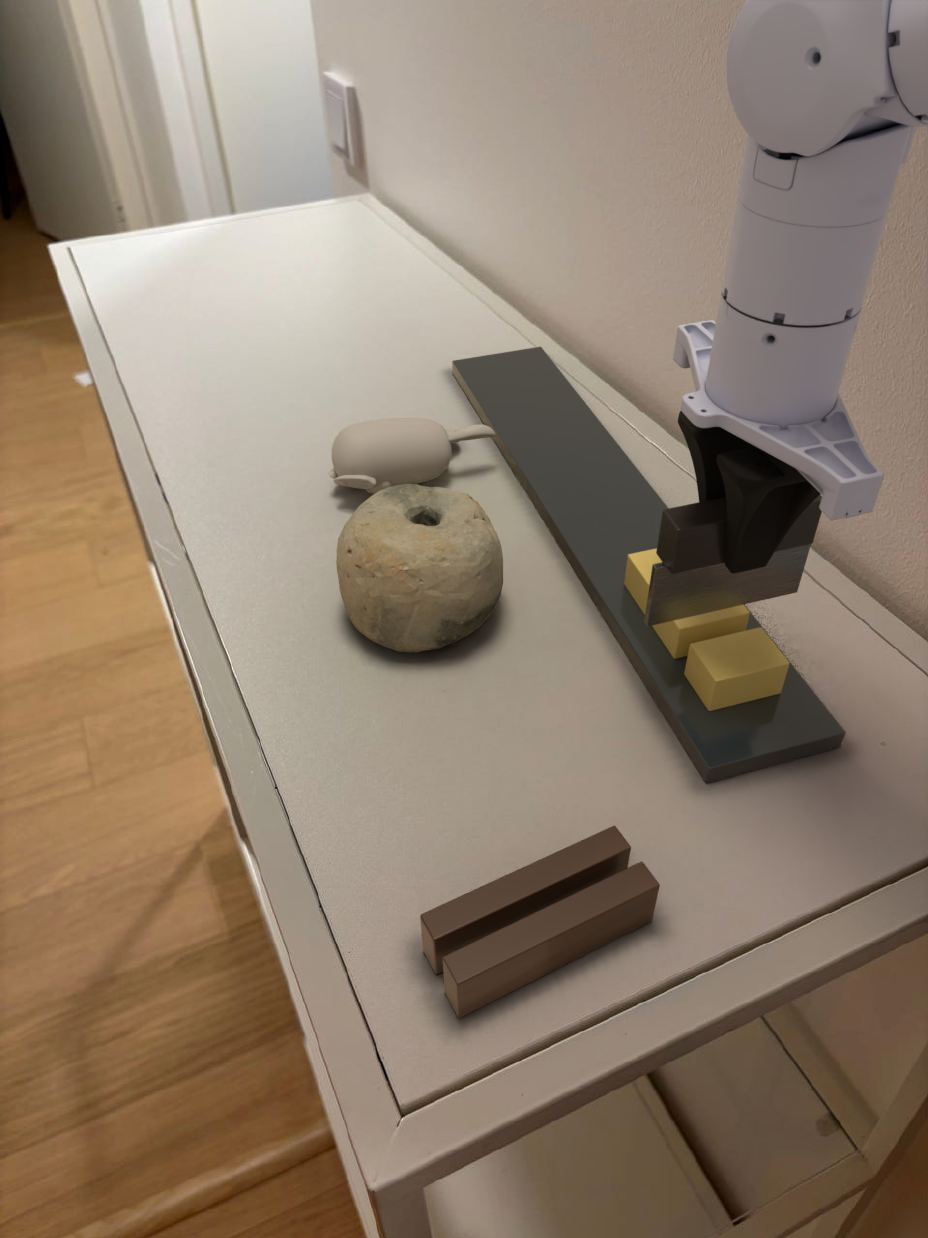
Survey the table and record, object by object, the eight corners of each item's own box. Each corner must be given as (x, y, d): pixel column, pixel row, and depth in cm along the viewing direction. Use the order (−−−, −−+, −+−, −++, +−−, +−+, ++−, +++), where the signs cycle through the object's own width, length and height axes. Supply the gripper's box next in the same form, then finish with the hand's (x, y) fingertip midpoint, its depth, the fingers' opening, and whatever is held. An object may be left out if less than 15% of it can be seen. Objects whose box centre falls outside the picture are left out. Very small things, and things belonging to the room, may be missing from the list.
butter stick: (743, 643, 56) (750, 612, 55) (673, 659, 55) (679, 629, 54) (687, 570, 61) (693, 539, 60) (623, 584, 60) (627, 553, 59)
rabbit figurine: (347, 484, 65) (508, 467, 69) (332, 411, 65) (492, 399, 70) (325, 511, 70) (475, 494, 75) (311, 444, 71) (461, 431, 76)
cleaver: (804, 600, 53) (835, 497, 48) (652, 635, 51) (669, 532, 46) (786, 580, 54) (815, 477, 49) (638, 613, 52) (653, 510, 48)
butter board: (841, 747, 52) (846, 732, 51) (705, 783, 50) (709, 768, 50) (540, 358, 85) (541, 346, 84) (452, 373, 83) (452, 360, 82)
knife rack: (652, 920, 45) (660, 884, 43) (458, 1019, 41) (457, 985, 39) (609, 861, 47) (614, 824, 45) (422, 949, 44) (419, 914, 42)
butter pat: (781, 693, 53) (790, 662, 52) (708, 712, 52) (715, 681, 51) (753, 657, 56) (761, 626, 54) (683, 674, 55) (689, 643, 53)
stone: (503, 646, 53) (376, 511, 50) (392, 702, 60) (276, 586, 57) (564, 541, 59) (455, 418, 57) (458, 603, 66) (357, 495, 64)
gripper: (630, 244, 45) (605, 487, 54) (799, 395, 35) (733, 663, 44) (766, 225, 46) (719, 465, 56) (967, 365, 36) (869, 630, 45)
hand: (734, 551), depth 50 cm, fingers closed on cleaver, 2 cm apart
